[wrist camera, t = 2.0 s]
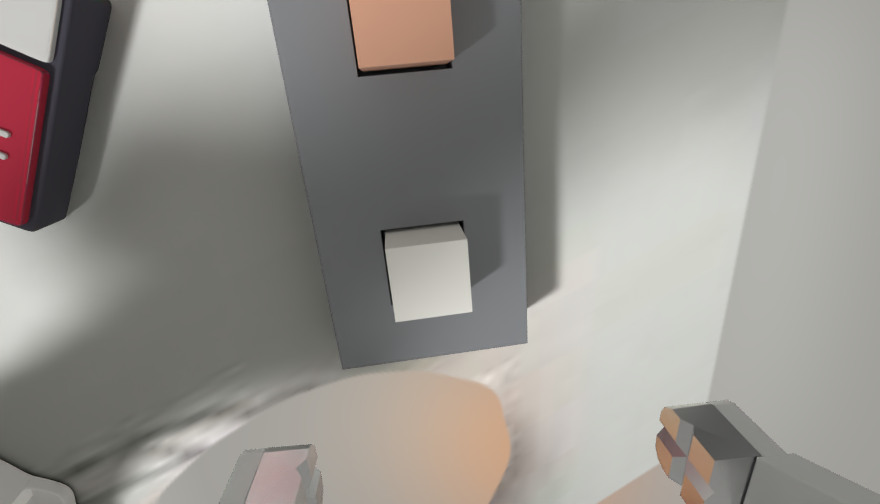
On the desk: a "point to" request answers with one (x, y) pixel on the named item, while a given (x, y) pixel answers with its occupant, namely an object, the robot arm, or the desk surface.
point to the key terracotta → (402, 33)
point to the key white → (428, 271)
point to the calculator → (45, 102)
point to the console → (411, 171)
